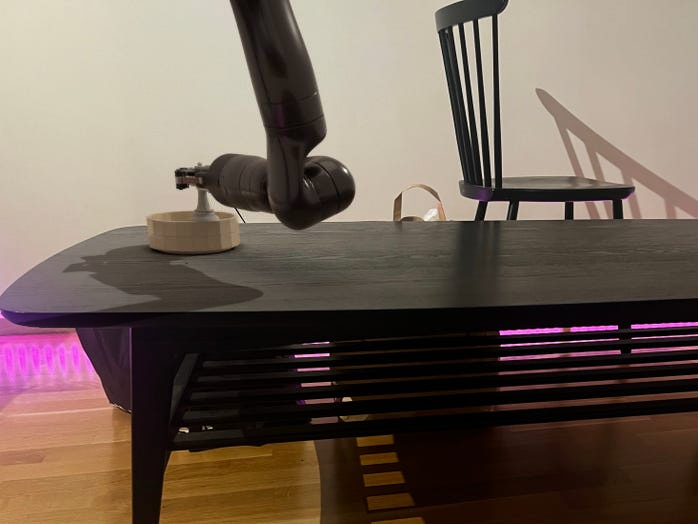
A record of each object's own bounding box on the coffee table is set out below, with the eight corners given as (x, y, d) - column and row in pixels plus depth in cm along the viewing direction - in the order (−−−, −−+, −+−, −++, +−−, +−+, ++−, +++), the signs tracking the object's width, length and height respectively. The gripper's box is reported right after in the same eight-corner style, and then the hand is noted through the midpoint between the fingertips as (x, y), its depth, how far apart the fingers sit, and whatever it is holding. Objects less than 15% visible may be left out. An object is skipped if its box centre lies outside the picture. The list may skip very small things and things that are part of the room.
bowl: (171, 259, 101) (168, 224, 100) (136, 246, 110) (132, 213, 108) (255, 249, 110) (253, 217, 109) (216, 238, 119) (213, 208, 117)
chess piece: (224, 227, 111) (218, 161, 108) (215, 231, 107) (209, 163, 104) (196, 226, 111) (189, 161, 108) (186, 230, 107) (179, 162, 103)
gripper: (290, 154, 100) (232, 149, 112) (195, 155, 91) (142, 149, 102) (292, 207, 103) (236, 197, 114) (200, 213, 93) (149, 201, 105)
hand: (192, 174), depth 108 cm, fingers closed on chess piece, 2 cm apart
